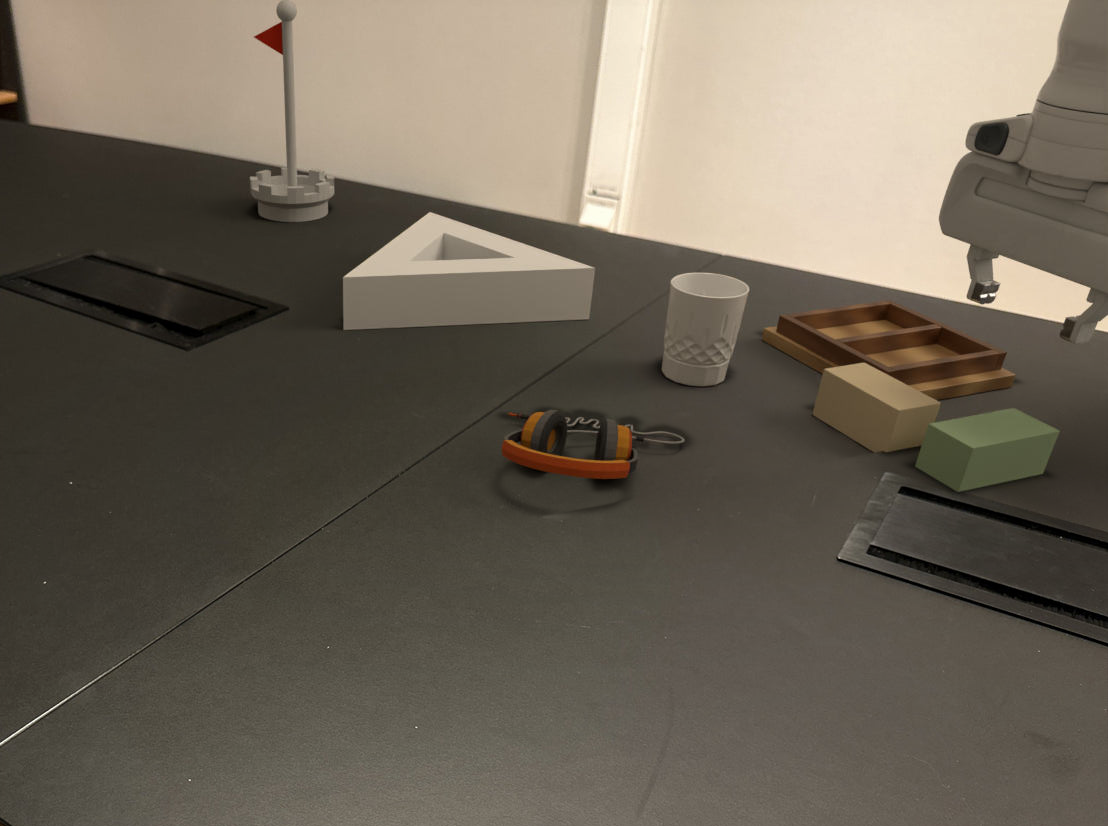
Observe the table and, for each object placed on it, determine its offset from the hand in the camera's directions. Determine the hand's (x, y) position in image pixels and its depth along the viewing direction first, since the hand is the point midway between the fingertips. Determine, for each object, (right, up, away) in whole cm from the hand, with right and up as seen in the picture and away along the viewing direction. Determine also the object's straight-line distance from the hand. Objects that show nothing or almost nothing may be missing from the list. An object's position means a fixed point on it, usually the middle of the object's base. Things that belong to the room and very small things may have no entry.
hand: (1024, 320), depth 87 cm
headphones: (-35, -12, +9) cm, 38 cm away
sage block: (0, -13, +8) cm, 15 cm away
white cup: (-20, 0, +27) cm, 33 cm away
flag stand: (-68, +33, +79) cm, 109 cm away
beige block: (-6, -8, +15) cm, 18 cm away
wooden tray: (+2, +2, +30) cm, 30 cm away
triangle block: (-40, +11, +44) cm, 61 cm away
